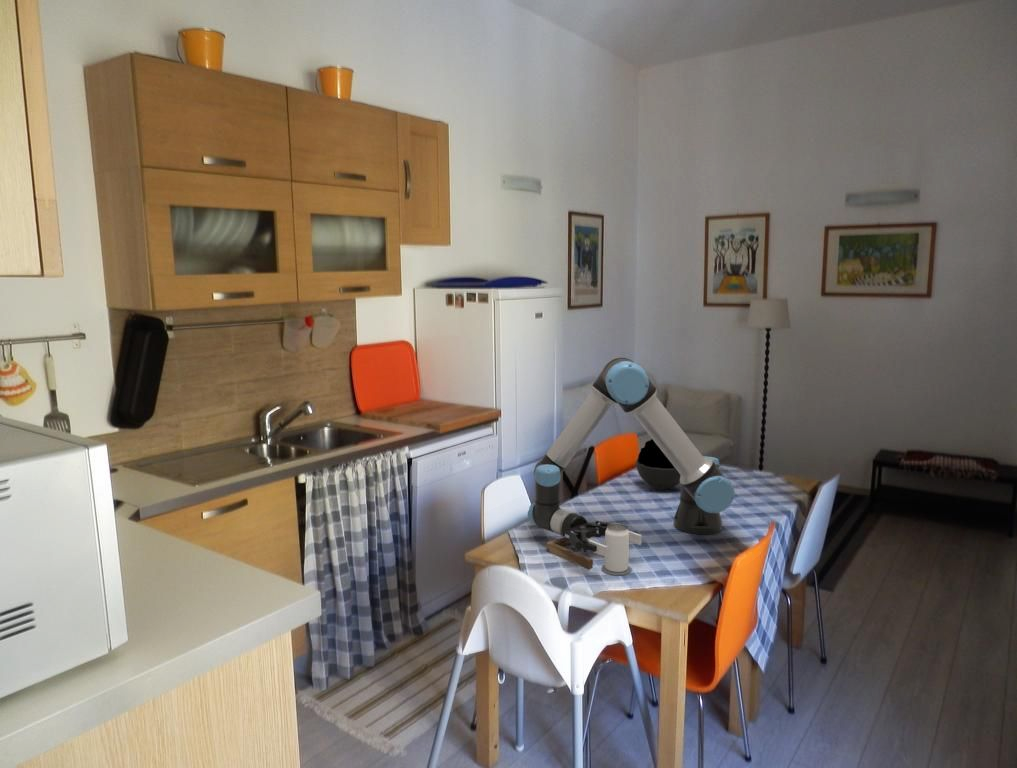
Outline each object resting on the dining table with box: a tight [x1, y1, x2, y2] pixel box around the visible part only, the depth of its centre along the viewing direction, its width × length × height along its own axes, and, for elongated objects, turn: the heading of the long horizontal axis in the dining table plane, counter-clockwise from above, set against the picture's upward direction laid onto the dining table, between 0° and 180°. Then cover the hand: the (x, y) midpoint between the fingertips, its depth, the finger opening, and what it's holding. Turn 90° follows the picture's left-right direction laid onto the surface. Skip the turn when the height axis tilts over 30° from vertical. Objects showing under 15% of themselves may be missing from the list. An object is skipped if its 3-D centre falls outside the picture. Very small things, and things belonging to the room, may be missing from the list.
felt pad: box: [601, 563, 632, 577], centre depth 201 cm, size 8×8×1 cm
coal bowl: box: [635, 438, 681, 490], centre depth 276 cm, size 20×20×19 cm
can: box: [604, 522, 630, 573], centre depth 200 cm, size 6×6×12 cm
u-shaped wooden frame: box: [545, 537, 594, 570], centre depth 211 cm, size 12×18×2 cm, turn 39°
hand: (624, 545), depth 198 cm, fingers open, 13 cm apart
